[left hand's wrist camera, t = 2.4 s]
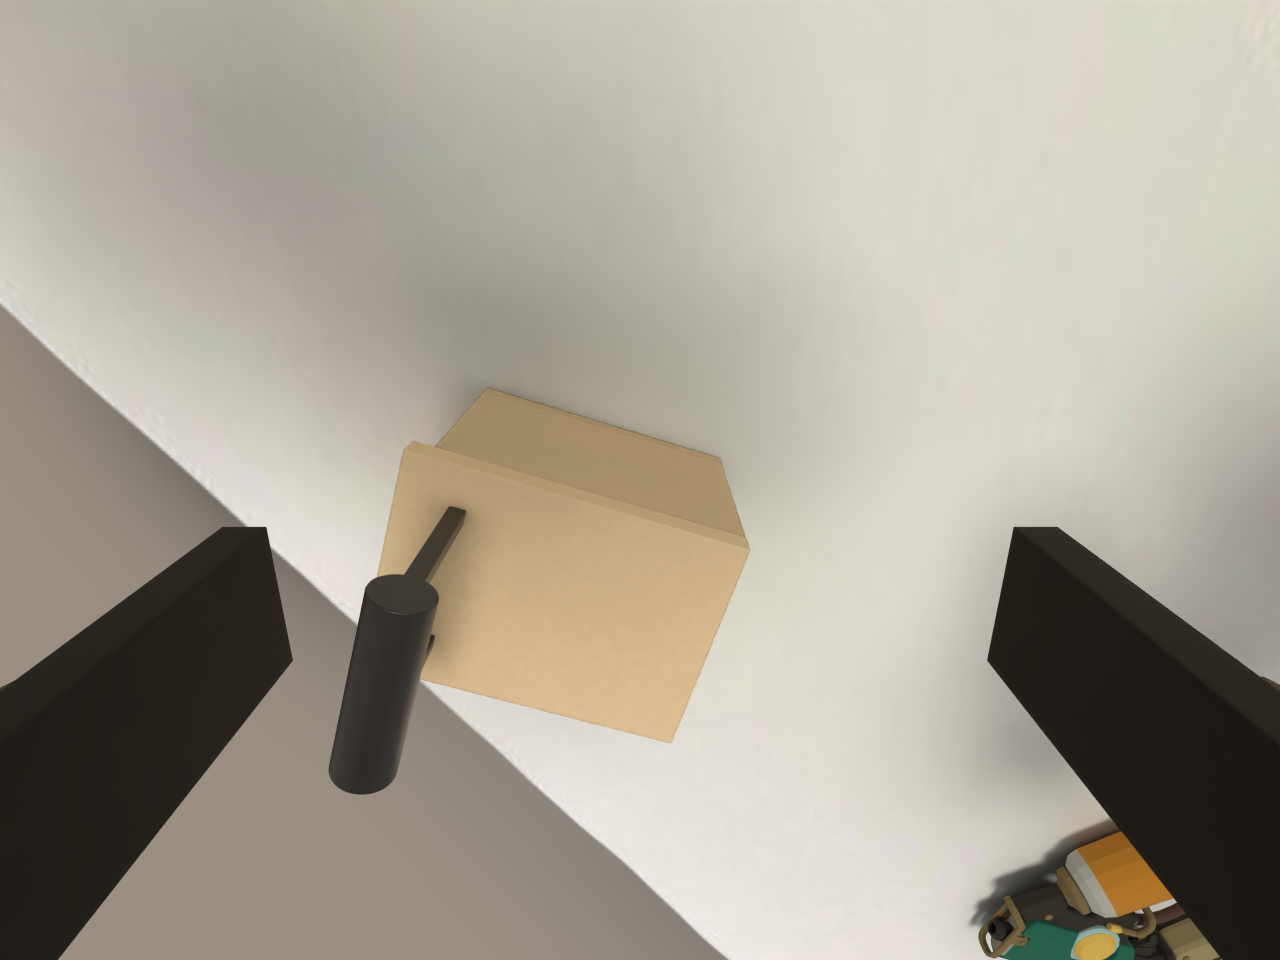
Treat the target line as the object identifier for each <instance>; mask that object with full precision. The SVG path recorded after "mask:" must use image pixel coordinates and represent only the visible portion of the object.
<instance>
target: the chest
mask: <svg viewBox="0 0 1280 960" xmlns="http://www.w3.org/2000/svg"><path fill="white" fill-rule="evenodd" d="M435 447H437V448H440V449H444V450H447V451H451V452H454V453H457V454H461V455H464V456H468V457H471V458H475V459H478V460H481V461H485V462H488V463H492V464H495V465H499V466H502V467H505V468H509V469H512V470H516V471H519V472H523V473H526V474H530V475H533V476H536V477H540V478H543V479H547V480H550V481H554V482H557V483H560V484H564V485H567V486H571V487H574V488H578V489H581V490H584V491H588V492H591V493H595V494H598V495H602V496H605V497H608V498H612V499H615V500H619V501H622V502H626V503H629V504H633V505H636V506H639V507H643V508H646V509H650V510H653V511H657V512H660V513H663V514H667V515H670V516H674V517H677V518H681V519H684V520H687V521H691V522H694V523H698V524H701V525H705V526H708V527H712V528H715V529H718V530H722V531H725V532H729V533H732V534H736V535H739V536H742V537H745V533H744V530H743V527H742V524H741V521H740V518H739V515H738V512H737V509H736V506H735V503H734V500H733V497H732V494H731V491H730V488H729V485H728V482H727V479H726V476H725V473H724V469H723V466H722V464H721V460H720V459H719V458H717V457H714V456H710V455H707V454H704V453H701V452H697V451H694V450H691V449H687V448H684V447H681V446H677V445H674V444H671V443H667V442H664V441H661V440H658V439H654V438H651V437H648V436H644V435H641V434H638V433H634V432H631V431H628V430H624V429H621V428H618V427H615V426H611V425H608V424H605V423H601V422H598V421H595V420H591V419H588V418H585V417H581V416H578V415H575V414H572V413H568V412H565V411H562V410H558V409H555V408H552V407H548V406H545V405H542V404H538V403H535V402H532V401H529V400H525V399H522V398H519V397H515V396H512V395H509V394H505V393H502V392H499V391H495V390H492V389H489V388H487V389H486V390H485V391H484V392H483V393H482V394H481V395H480V397H479V398H478V399H477V400H476V401H475V402H474V403H473V404H472V406H471V407H470V408H469V409H468V410H467V411H466V412H465V413H464V415H463V416H462V417H461V418H460V419H459V420H458V421H457V422H456V424H455V425H454V426H453V427H452V428H451V429H450V430H449V431H448V433H447V434H446V435H445V436H444V437H443V438H442V439H441V440H440V442H439V443H438V444H437V445H436V446H435Z"/></svg>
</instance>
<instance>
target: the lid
mask: <svg viewBox="0 0 1280 960" xmlns="http://www.w3.org/2000/svg"><path fill="white" fill-rule="evenodd" d="M749 552H750V548H749V545H748V542H747V539H746V537H742V536H739V535H736V534H732V533H729V532H725V531H722V530H718V529H715V528H712V527H708V526H705V525H701V524H698V523H694V522H691V521H687V520H684V519H681V518H677V517H674V516H670V515H667V514H663V513H660V512H657V511H653V510H650V509H646V508H643V507H639V506H636V505H633V504H629V503H626V502H622V501H619V500H615V499H612V498H608V497H605V496H602V495H598V494H595V493H591V492H588V491H584V490H581V489H578V488H574V487H571V486H567V485H564V484H560V483H557V482H554V481H550V480H547V479H543V478H540V477H536V476H533V475H530V474H526V473H523V472H519V471H516V470H512V469H509V468H505V467H502V466H499V465H495V464H492V463H488V462H485V461H481V460H478V459H475V458H471V457H468V456H464V455H461V454H457V453H454V452H451V451H447V450H444V449H440V448H437V447H433V446H430V445H426V444H423V443H420V442H416V441H412V442H411V443H410V444H409V445H408V446H407V447H406V448H405V449H404V450H403V455H402V459H401V464H400V469H399V474H398V479H397V483H396V488H395V493H394V498H393V503H392V507H391V512H390V517H389V522H388V526H387V531H386V536H385V541H384V546H383V550H382V555H381V560H380V565H379V570H378V574H377V578H375V579H373V580H371V581H370V582H369V583H368V584H367V586H366V588H365V592H364V597H363V602H362V607H361V612H360V617H359V622H358V627H357V632H356V636H355V641H354V646H353V651H352V656H351V661H350V666H349V671H348V676H347V681H346V686H345V691H344V696H343V701H342V705H341V710H340V715H339V720H338V725H337V730H336V735H335V740H334V745H333V750H332V755H331V759H330V764H329V775H330V778H331V780H332V782H333V783H334V784H335V785H336V786H337V787H338V788H340V789H341V790H343V791H346V792H348V793H352V794H371V793H375V792H378V791H380V790H382V789H384V788H386V787H387V786H388V785H389V784H390V783H391V782H392V781H393V779H394V778H395V776H396V773H397V769H398V765H399V761H400V757H401V753H402V749H403V745H404V741H405V737H406V733H407V728H408V725H409V721H410V717H411V713H412V709H413V705H414V700H415V696H416V692H417V688H418V684H419V680H420V679H421V680H425V681H429V682H433V683H437V684H441V685H445V686H449V687H453V688H456V689H460V690H464V691H468V692H472V693H476V694H480V695H484V696H488V697H492V698H496V699H499V700H503V701H507V702H511V703H515V704H519V705H523V706H527V707H531V708H535V709H538V710H542V711H546V712H550V713H554V714H558V715H562V716H566V717H570V718H574V719H578V720H581V721H585V722H589V723H593V724H597V725H601V726H605V727H609V728H613V729H617V730H621V731H624V732H628V733H632V734H636V735H640V736H644V737H648V738H652V739H656V740H660V741H664V742H667V743H672V741H673V738H674V736H675V733H676V731H677V728H678V726H679V723H680V721H681V719H682V716H683V714H684V711H685V709H686V706H687V704H688V701H689V699H690V697H691V694H692V692H693V689H694V687H695V684H696V682H697V679H698V677H699V675H700V672H701V670H702V667H703V665H704V662H705V660H706V657H707V655H708V653H709V650H710V648H711V645H712V643H713V640H714V638H715V635H716V633H717V631H718V628H719V626H720V623H721V621H722V618H723V616H724V613H725V611H726V609H727V606H728V604H729V601H730V599H731V596H732V594H733V591H734V589H735V587H736V584H737V582H738V579H739V577H740V574H741V572H742V569H743V567H744V565H745V562H746V560H747V557H748V555H749Z"/></svg>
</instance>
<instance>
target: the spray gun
mask: <svg viewBox="0 0 1280 960" xmlns="http://www.w3.org/2000/svg"><path fill="white" fill-rule="evenodd" d="M1065 867H1066V869H1065ZM1065 867H1061V868H1058V869H1057V885H1050V886H1046V887H1043V888H1040V889H1036V890H1033V891H1030V892H1027V893H1023V894H1020V895H1017V896H1013V897H1012V899H1011V897H1010V896H1009V895H1008V896H1006V897H1003V898H1004V901H1005V903H1004V904H1003V905H1002V907H1001V908H1000V909H999V910H998V911H997V912H996V913H995V914H994V915H993V916H992V917H991V918H990V920H989V921H988V922H987V923H986V924H985V925H984V926H983V927H982V928H981V930H980V932H979V942H980V945H981V947H982V949H983V951H984V953H985V954H986V955H987V956H989V957H992V958H997V957H1001V958H1005V959H1008V960H1221V958H1220V956H1219V955H1218V954H1217V953H1216V951H1215V950H1214V949H1213V947H1212V946H1211V945H1210V944H1209V942H1208V941H1207V940H1206V939H1205V937H1204V936H1203V935H1202V933H1201V932H1200V931H1199V930H1198V928H1197V927H1196V926H1195V925H1194V923H1193V922H1192V921H1191V919H1190V918H1187V919H1185V920H1182V921H1180V922H1177V923H1175V924H1173V925H1170V926H1168V927H1165V928H1163V929H1162V930H1161V931H1160V932H1158V931H1157V930H1155V928H1156V925H1157V924H1161V923H1164V922H1167V921H1170V920H1172V919H1175V918H1177V917H1179V916H1181V915H1183V914H1185V912H1184V911H1183V909H1182V908H1181V907H1180V905H1179V904H1178V903H1175V904H1173V905H1171V906H1169V907H1167V908H1164V909H1162V910H1160V911H1156V912H1152V911H1151V910H1150V908H1149V906H1152V905H1155V904H1158V903H1160V902H1163V901H1166V900H1169V899H1172V898H1173V897H1172V895H1171V894H1170V893H1169V891H1168V890H1167V889H1166V888H1165V886H1164V885H1163V884H1162V883H1161V881H1160V880H1159V879H1158V877H1157V876H1156V875H1155V874H1154V872H1153V871H1152V870H1151V868H1150V867H1149V866H1148V865H1147V863H1146V862H1145V861H1144V860H1143V858H1142V857H1141V856H1140V854H1139V853H1138V852H1137V851H1136V849H1135V848H1134V847H1133V846H1132V844H1131V843H1130V842H1129V840H1128V839H1127V838H1126V837H1125V835H1124V834H1123V833H1122V832H1121V831H1120V832H1117V833H1115V834H1112V835H1110V836H1107V837H1105V838H1102V839H1100V840H1097V841H1095V842H1092V843H1090V844H1087V845H1085V846H1082V847H1080V848H1077V849H1075V850H1074V851H1072V852H1071V853H1070V854H1069V855H1068V856H1067V860H1066V864H1065ZM1008 909H1009V911H1010V913H1011V914H1010V913H1007V911H1008ZM1140 909H1142V910H1143V912H1144V914H1136V913H1135V912H1134V911H1137V910H1140ZM1134 925H1143V926H1144V927H1142V928H1139V929H1131V928H1132V926H1134ZM987 932H989V933H990V935H991V945H992V949H993V952H991V951H990V949H989V947H988V945H987V942H986V934H987ZM1128 936H1133V937H1138V940H1130V941H1129V940H1128Z"/></svg>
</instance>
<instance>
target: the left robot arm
mask: <svg viewBox="0 0 1280 960" xmlns="http://www.w3.org/2000/svg"><path fill="white" fill-rule="evenodd" d="M292 661H293V659H292V654H291V649H290V644H289V639H288V634H287V629H286V624H285V619H284V614H283V609H282V604H281V599H280V594H279V589H278V584H277V579H276V574H275V569H274V564H273V559H272V554H271V548H270V543H269V538H268V533H267V528H266V527H222V528H221V529H219V530H218V531H217V532H215V533H214V534H213V535H211V536H210V537H208V538H207V539H206V540H204V541H203V542H202V543H200V544H199V545H198V546H196V547H195V548H194V549H192V550H191V551H189V552H188V553H187V554H185V555H184V556H183V557H181V558H180V559H179V560H177V561H176V562H175V563H173V564H172V565H171V566H169V567H168V568H166V569H165V570H164V571H162V572H161V573H160V574H158V575H157V576H156V577H154V578H153V579H152V580H150V581H149V582H148V583H146V584H145V585H143V586H142V587H141V588H139V589H138V590H137V591H135V592H134V593H133V594H131V595H130V596H129V597H127V598H126V599H125V600H123V601H122V602H121V603H119V604H118V605H116V606H115V607H114V608H112V609H111V610H110V611H108V612H107V613H106V614H104V615H103V616H102V617H100V618H99V619H98V620H96V621H95V622H94V623H92V624H91V625H89V626H88V627H87V628H85V629H84V630H83V631H81V632H80V633H79V634H77V635H76V636H75V637H73V638H72V639H70V640H69V641H68V642H66V643H65V644H64V645H62V646H61V647H60V648H58V649H57V650H56V651H54V652H53V653H52V654H50V655H49V656H47V657H46V658H45V659H43V660H42V661H41V662H39V663H38V664H37V665H35V666H34V667H33V668H31V669H30V670H29V671H27V672H26V673H24V674H23V675H22V676H20V677H19V678H18V679H16V680H15V681H13V682H11V683H9V684H7V685H5V686H3V687H1V688H0V960H58V959H59V958H60V956H61V955H62V954H63V953H64V951H65V950H66V949H67V947H68V946H69V945H70V944H71V942H72V941H73V940H74V938H75V937H76V936H77V935H78V933H79V932H80V931H81V930H82V928H83V927H84V926H85V924H86V923H87V922H88V921H89V919H90V918H91V917H92V916H93V914H94V913H95V912H96V911H97V909H98V908H99V907H100V905H101V904H102V903H103V902H104V900H105V899H106V898H107V896H108V895H109V894H110V893H111V891H112V890H113V889H114V888H115V886H116V885H117V884H118V882H119V881H120V880H121V879H122V877H123V876H124V875H125V873H126V872H127V871H128V870H129V868H130V867H131V866H132V865H133V863H134V862H135V861H136V860H137V858H138V857H139V856H140V854H141V853H142V852H143V851H144V849H145V848H146V847H147V846H148V844H149V843H150V842H151V840H152V839H153V838H154V837H155V835H156V834H157V833H158V832H159V830H160V829H161V828H162V826H163V825H164V824H165V823H166V821H167V820H168V819H169V818H170V816H171V815H172V814H173V812H174V811H175V810H176V809H177V807H178V806H179V805H180V803H181V802H182V801H183V800H184V798H185V797H186V796H187V795H188V793H189V792H190V791H191V789H192V788H193V787H194V786H195V784H196V783H197V782H198V781H199V779H200V778H201V777H202V776H203V774H204V773H205V772H206V770H207V769H208V768H209V767H210V765H211V764H212V763H213V762H214V760H215V759H216V758H217V756H218V755H219V754H220V753H221V751H222V750H223V749H224V747H225V746H226V745H227V744H228V742H229V741H230V740H231V739H232V737H233V736H234V735H235V733H236V732H237V731H238V730H239V728H240V727H241V726H242V725H243V723H244V722H245V721H246V719H247V718H248V717H249V716H250V714H251V713H252V712H253V711H254V709H255V708H256V707H257V705H258V704H259V703H260V702H261V700H262V699H263V698H264V696H265V695H266V694H267V693H268V691H269V690H270V689H271V688H272V686H273V685H274V684H275V683H276V681H277V680H278V679H279V677H280V676H281V675H282V674H283V672H284V671H285V670H286V669H287V667H288V666H289V665H290V663H291V662H292ZM987 661H988V662H989V663H990V665H991V666H992V667H993V669H994V670H995V671H996V672H997V674H998V675H999V676H1000V677H1001V679H1002V680H1003V681H1004V683H1005V684H1006V685H1007V686H1008V688H1009V689H1010V690H1011V691H1012V693H1013V694H1014V695H1015V697H1016V698H1017V699H1018V700H1019V702H1020V703H1021V704H1022V705H1023V707H1024V708H1025V709H1026V711H1027V712H1028V713H1029V714H1030V716H1031V717H1032V718H1033V719H1034V721H1035V722H1036V723H1037V725H1038V726H1039V727H1040V728H1041V730H1042V731H1043V732H1044V733H1045V735H1046V736H1047V737H1048V739H1049V740H1050V741H1051V742H1052V744H1053V745H1054V746H1055V747H1056V749H1057V750H1058V751H1059V753H1060V754H1061V755H1062V756H1063V758H1064V759H1065V760H1066V762H1067V763H1068V764H1069V765H1070V767H1071V768H1072V769H1073V770H1074V772H1075V773H1076V774H1077V776H1078V777H1079V778H1080V779H1081V781H1082V782H1083V783H1084V784H1085V786H1086V787H1087V788H1088V790H1089V791H1090V792H1091V793H1092V795H1093V796H1094V797H1095V798H1096V800H1097V801H1098V802H1099V804H1100V805H1101V806H1102V807H1103V809H1104V810H1105V811H1106V812H1107V814H1108V815H1109V816H1110V818H1111V819H1112V820H1113V821H1114V823H1115V824H1116V825H1117V826H1118V828H1119V829H1120V830H1121V832H1122V833H1123V834H1124V835H1125V837H1126V838H1127V839H1128V840H1129V842H1130V843H1131V844H1132V846H1133V847H1134V848H1135V849H1136V851H1137V852H1138V853H1139V854H1140V856H1141V857H1142V858H1143V860H1144V861H1145V862H1146V863H1147V865H1148V866H1149V867H1150V868H1151V870H1152V871H1153V872H1154V874H1155V875H1156V876H1157V877H1158V879H1159V880H1160V881H1161V883H1162V884H1163V885H1164V886H1165V888H1166V889H1167V890H1168V891H1169V893H1170V894H1171V895H1172V897H1173V898H1174V899H1175V900H1176V902H1177V903H1178V904H1179V905H1180V907H1181V908H1182V909H1183V911H1184V912H1185V913H1186V914H1187V916H1188V917H1189V918H1190V919H1191V921H1192V922H1193V923H1194V925H1195V926H1196V927H1197V928H1198V930H1199V931H1200V932H1201V933H1202V935H1203V936H1204V937H1205V939H1206V940H1207V941H1208V942H1209V944H1210V945H1211V946H1212V947H1213V949H1214V950H1215V951H1216V953H1217V954H1218V955H1219V956H1220V958H1221V959H1222V960H1280V685H1279V684H1277V683H1275V682H1273V681H1271V680H1269V679H1267V678H1265V677H1260V676H1258V675H1257V674H1256V673H1254V672H1253V671H1251V670H1250V669H1249V668H1247V667H1246V666H1245V665H1243V664H1242V663H1241V662H1239V661H1238V660H1237V659H1235V658H1234V657H1233V656H1231V655H1230V654H1228V653H1227V652H1226V651H1224V650H1223V649H1222V648H1220V647H1219V646H1218V645H1216V644H1215V643H1214V642H1212V641H1211V640H1210V639H1208V638H1207V637H1205V636H1204V635H1203V634H1201V633H1200V632H1199V631H1197V630H1196V629H1195V628H1193V627H1192V626H1191V625H1189V624H1188V623H1187V622H1185V621H1184V620H1182V619H1181V618H1180V617H1178V616H1177V615H1176V614H1174V613H1173V612H1172V611H1170V610H1169V609H1168V608H1166V607H1165V606H1164V605H1162V604H1161V603H1160V602H1158V601H1157V600H1155V599H1154V598H1153V597H1151V596H1150V595H1149V594H1147V593H1146V592H1145V591H1143V590H1142V589H1141V588H1139V587H1138V586H1137V585H1135V584H1134V583H1132V582H1131V581H1130V580H1128V579H1127V578H1126V577H1124V576H1123V575H1122V574H1120V573H1119V572H1118V571H1116V570H1115V569H1114V568H1112V567H1111V566H1109V565H1108V564H1107V563H1105V562H1104V561H1103V560H1101V559H1100V558H1099V557H1097V556H1096V555H1095V554H1093V553H1092V552H1091V551H1089V550H1088V549H1086V548H1085V547H1084V546H1082V545H1081V544H1080V543H1078V542H1077V541H1076V540H1074V539H1073V538H1072V537H1070V536H1069V535H1068V534H1066V533H1065V532H1064V531H1062V530H1061V529H1059V528H1058V527H1014V528H1013V533H1012V538H1011V543H1010V548H1009V553H1008V559H1007V564H1006V569H1005V574H1004V579H1003V584H1002V589H1001V594H1000V599H999V604H998V609H997V614H996V619H995V624H994V629H993V634H992V639H991V644H990V649H989V654H988V659H987Z"/></svg>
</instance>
